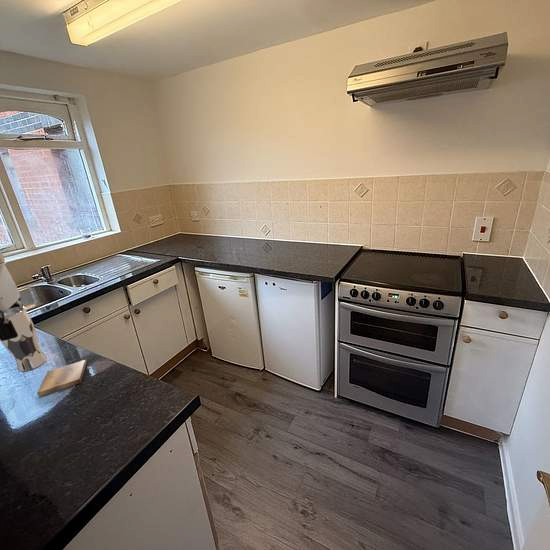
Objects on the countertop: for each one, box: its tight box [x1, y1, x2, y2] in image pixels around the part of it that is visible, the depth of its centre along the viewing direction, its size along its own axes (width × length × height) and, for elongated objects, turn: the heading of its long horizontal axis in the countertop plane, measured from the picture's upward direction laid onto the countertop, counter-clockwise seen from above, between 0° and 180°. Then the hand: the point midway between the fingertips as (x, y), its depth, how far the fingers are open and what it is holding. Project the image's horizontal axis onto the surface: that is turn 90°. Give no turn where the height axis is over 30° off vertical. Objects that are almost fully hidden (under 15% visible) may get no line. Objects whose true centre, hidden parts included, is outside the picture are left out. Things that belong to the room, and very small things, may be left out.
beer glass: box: [0, 306, 48, 373], centre depth 73 cm, size 7×7×15 cm
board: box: [36, 359, 87, 397], centre depth 94 cm, size 11×11×2 cm
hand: (16, 330), depth 72 cm, fingers closed on beer glass, 7 cm apart
